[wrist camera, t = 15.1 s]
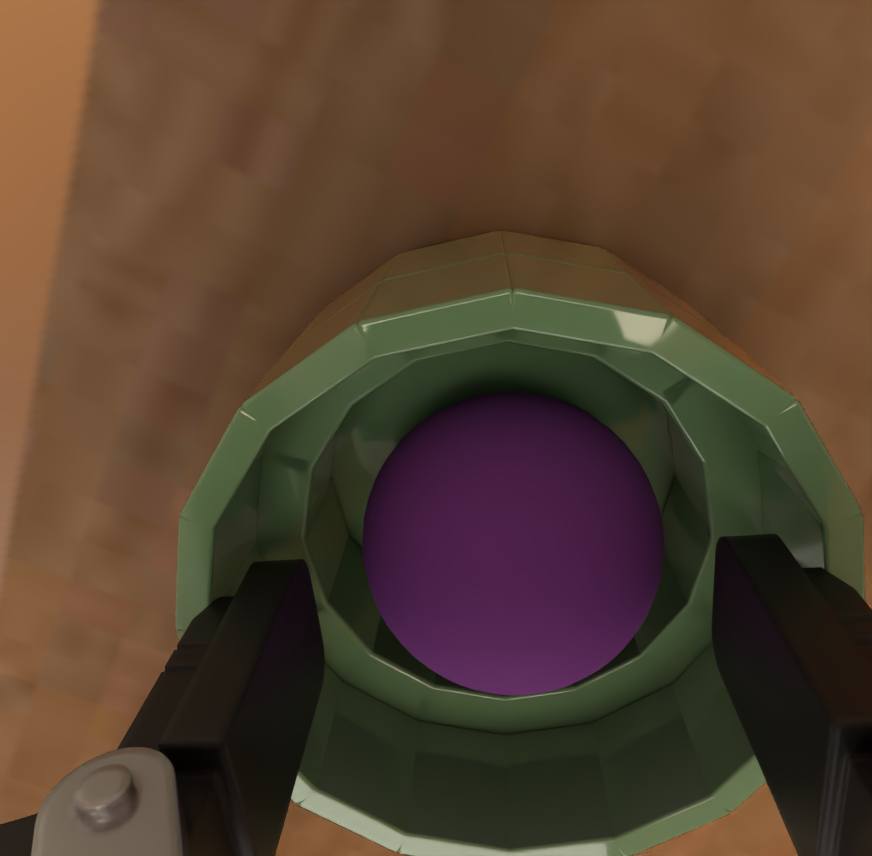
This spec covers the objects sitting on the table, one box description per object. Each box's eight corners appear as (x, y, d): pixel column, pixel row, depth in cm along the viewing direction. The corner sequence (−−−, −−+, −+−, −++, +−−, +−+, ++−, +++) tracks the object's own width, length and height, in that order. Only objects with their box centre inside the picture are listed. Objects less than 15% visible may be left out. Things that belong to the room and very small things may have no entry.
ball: (540, 302, 14) (588, 398, 9) (670, 501, 15) (769, 670, 11) (325, 445, 15) (270, 593, 10) (467, 617, 16) (475, 814, 12)
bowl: (574, 121, 13) (638, 121, 8) (814, 517, 16) (977, 710, 10) (181, 409, 15) (34, 551, 10) (445, 709, 18) (433, 941, 13)
